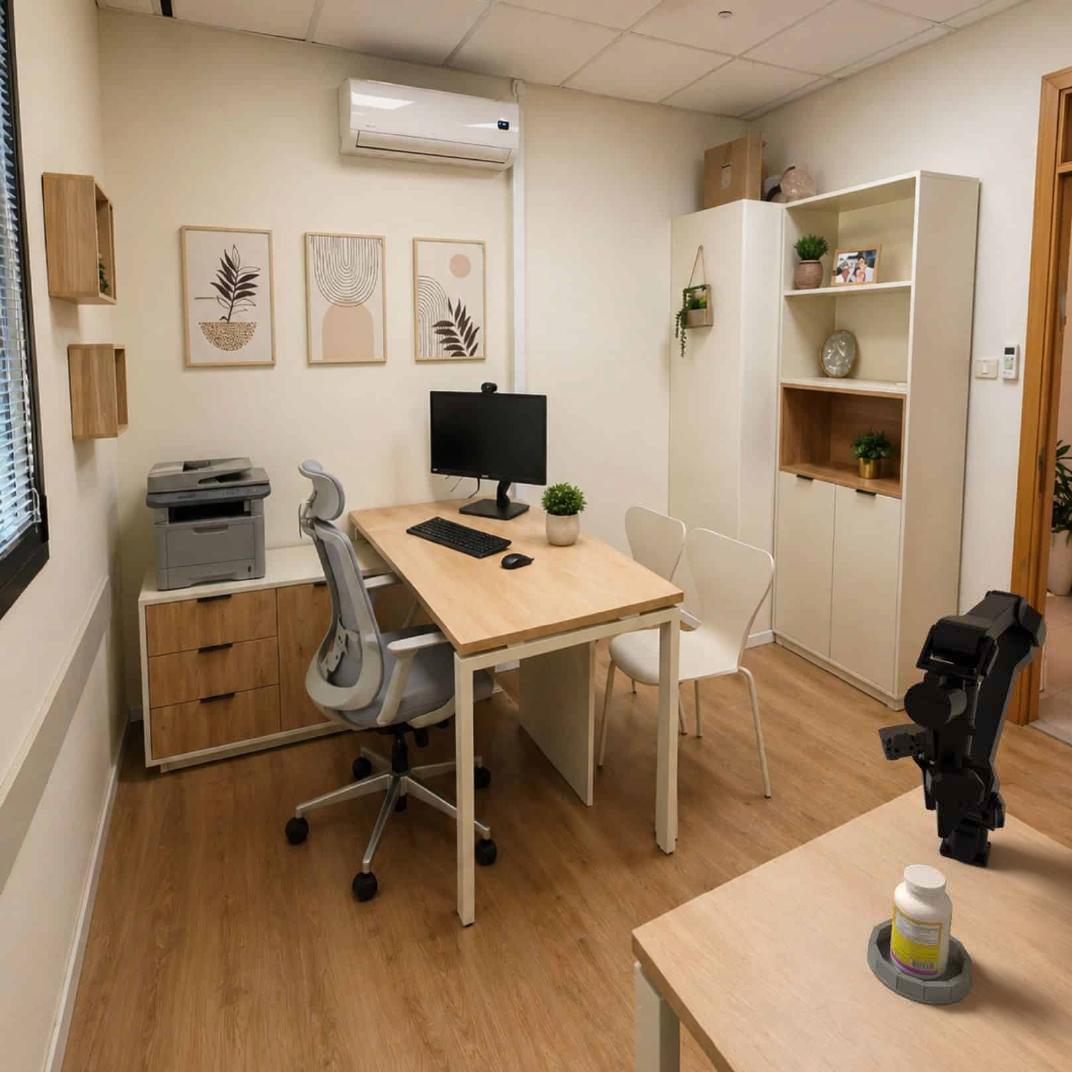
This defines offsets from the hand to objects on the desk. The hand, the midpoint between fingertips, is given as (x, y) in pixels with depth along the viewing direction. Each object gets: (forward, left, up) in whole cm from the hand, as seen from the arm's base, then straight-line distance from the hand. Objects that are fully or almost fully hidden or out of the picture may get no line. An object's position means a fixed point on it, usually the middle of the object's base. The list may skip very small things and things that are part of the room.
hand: (935, 823), depth 113 cm
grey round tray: (+13, +1, -13) cm, 19 cm away
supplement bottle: (+13, +1, -13) cm, 18 cm away
